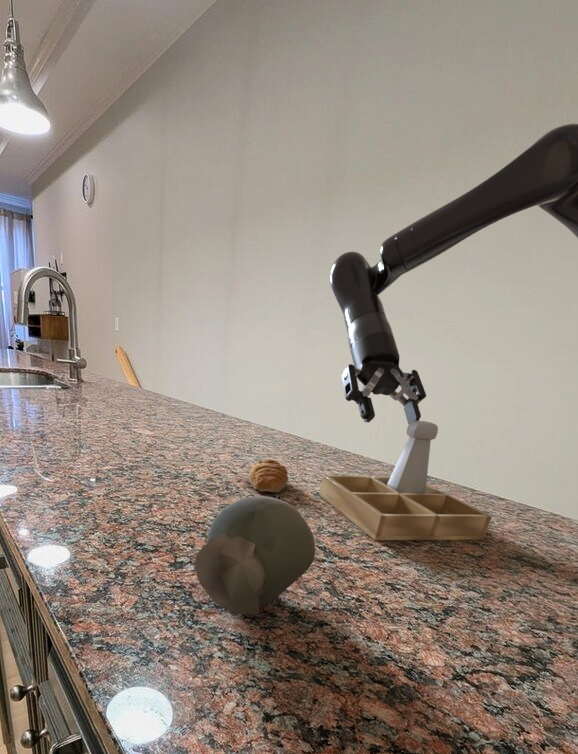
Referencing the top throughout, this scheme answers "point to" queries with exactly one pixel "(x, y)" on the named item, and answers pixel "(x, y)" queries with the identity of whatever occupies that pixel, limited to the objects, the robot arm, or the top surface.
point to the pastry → (268, 476)
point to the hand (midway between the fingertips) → (392, 421)
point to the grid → (402, 510)
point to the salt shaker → (414, 459)
